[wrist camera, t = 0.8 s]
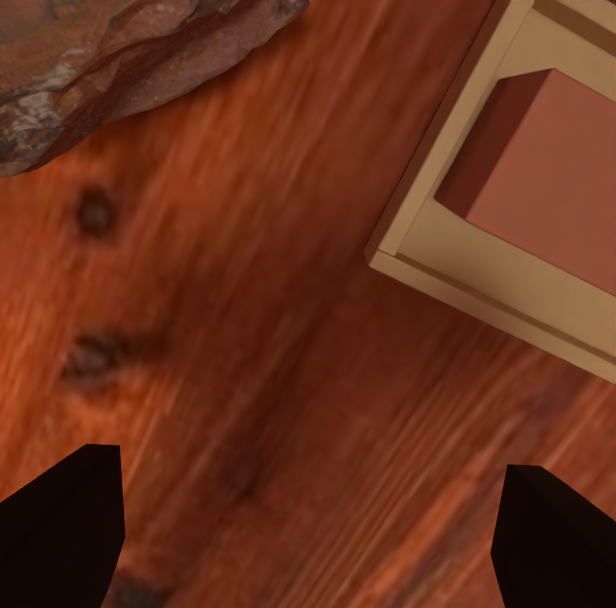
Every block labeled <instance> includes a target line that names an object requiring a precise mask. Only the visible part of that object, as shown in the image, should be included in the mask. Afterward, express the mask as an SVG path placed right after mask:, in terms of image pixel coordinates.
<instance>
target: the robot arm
mask: <svg viewBox="0 0 616 608" xmlns="http://www.w3.org/2000/svg"><path fill="white" fill-rule="evenodd" d="M124 539H125V521H124V505H123V489H122V473H121V457H120V445H99V444H86V445H84V446H83V447H81V448H79V449H78V450H76V451H75V452H73V453H72V454H70V455H69V456H67V457H66V458H64V459H63V460H62V461H60V462H59V463H57V464H56V465H54V466H53V467H52V468H50V469H49V470H47V471H46V472H44V473H43V474H42V475H40V476H39V477H37V478H36V479H34V480H33V481H31V482H30V483H29V484H27V485H26V486H24V487H23V488H21V489H20V490H18V491H17V492H15V493H14V494H12V495H11V496H9V497H8V498H7V499H5V500H4V501H2V502H1V503H0V608H100V607H101V604H102V602H103V600H104V598H105V596H106V593H107V591H108V589H109V586H110V583H111V580H112V577H113V574H114V571H115V568H116V565H117V562H118V559H119V555H120V552H121V549H122V546H123V543H124ZM490 554H491V558H492V562H493V566H494V569H495V573H496V577H497V581H498V585H499V588H500V591H501V595H502V598H503V602H504V605H505V608H616V522H615V521H614V520H613V519H612V518H610V517H609V516H608V515H606V514H605V513H604V512H602V511H601V510H600V509H598V508H597V507H596V506H594V505H593V504H592V503H590V502H589V501H588V500H587V499H585V498H584V497H583V496H581V495H580V494H579V493H577V492H576V491H575V490H573V489H572V488H571V487H569V486H568V485H567V484H565V483H564V482H563V481H561V480H560V479H559V478H557V477H556V476H554V475H553V474H552V473H550V472H549V471H547V470H546V469H544V468H543V467H541V466H530V465H510V464H508V465H507V470H506V475H505V480H504V486H503V491H502V496H501V501H500V506H499V511H498V517H497V522H496V527H495V532H494V537H493V542H492V548H491V553H490Z"/></svg>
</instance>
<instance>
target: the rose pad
mask: <svg viewBox="0 0 616 608" xmlns="http://www.w3.org/2000/svg"><path fill="white" fill-rule="evenodd" d="M433 199H434V200H435V201H437V202H438V203H440V204H441V205H443V206H444V207H446V208H447V209H449V210H450V211H451V212H453V213H454V214H456V215H457V216H459V217H460V218H462V219H463V220H465V221H466V222H468V223H470V224H472V225H474V226H476V227H478V228H480V229H482V230H484V231H486V232H488V233H490V234H492V235H494V236H496V237H498V238H500V239H502V240H504V241H506V242H508V243H510V244H512V245H514V246H516V247H518V248H520V249H522V250H524V251H526V252H528V253H530V254H532V255H534V256H536V257H538V258H539V259H541V260H543V261H545V262H547V263H549V264H551V265H553V266H555V267H557V268H559V269H561V270H563V271H565V272H567V273H569V274H571V275H573V276H575V277H577V278H579V279H581V280H583V281H585V282H587V283H589V284H591V285H593V286H595V287H597V288H599V289H601V290H603V291H605V292H607V293H609V294H611V295H613V296H615V297H616V102H615V101H613V100H611V99H609V98H608V97H606V96H604V95H602V94H600V93H599V92H597V91H595V90H593V89H591V88H590V87H588V86H586V85H584V84H583V83H581V82H579V81H577V80H575V79H574V78H572V77H570V76H568V75H567V74H565V73H563V72H561V71H559V70H558V69H556V68H549V69H545V70H540V71H535V72H530V73H525V74H520V75H515V76H510V77H505V78H501V79H499V80H498V81H497V83H496V85H495V86H494V88H493V90H492V92H491V94H490V96H489V97H488V99H487V101H486V103H485V105H484V106H483V108H482V110H481V112H480V114H479V115H478V117H477V119H476V121H475V123H474V124H473V126H472V128H471V130H470V132H469V134H468V135H467V137H466V139H465V141H464V143H463V144H462V146H461V148H460V150H459V152H458V153H457V155H456V157H455V159H454V161H453V162H452V164H451V166H450V168H449V170H448V172H447V173H446V175H445V177H444V179H443V181H442V182H441V184H440V186H439V188H438V190H437V191H436V193H435V195H434V198H433Z"/></svg>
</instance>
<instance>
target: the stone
mask: <svg viewBox="0 0 616 608" xmlns="http://www.w3.org/2000/svg"><path fill="white" fill-rule="evenodd" d="M308 5H309V0H0V177H6V176H15V175H18V174H21V173H24V172H30V171H32V170H35V169H39V168H40V167H42V166H44V165H46V164H47V163H49V162H50V161H51V160H53V159H54V158H56V157H57V156H59V155H61V154H62V153H64V152H66V151H67V150H69V149H71V148H72V147H74V146H75V145H76V144H78V143H79V142H80V141H82V140H83V139H84V138H86V137H87V136H88V135H89V134H91V133H93V132H95V131H97V130H99V129H100V128H101V127H102V126H103V125H106V124H109V123H112V122H115V121H117V120H119V119H122V118H124V117H127V116H132V115H134V114H137V113H140V112H144V111H147V110H151V109H153V108H156V107H158V106H161V105H163V104H165V103H167V102H169V101H171V100H173V99H175V98H177V97H180V96H182V95H184V94H186V93H188V92H190V91H191V90H193V89H195V88H197V87H198V86H200V85H201V84H202V83H204V82H205V81H207V80H209V79H211V78H213V77H215V76H217V75H219V74H221V73H224V72H225V71H227V70H228V69H230V68H231V67H233V66H234V65H236V64H237V63H238V62H240V61H241V60H243V59H244V58H246V57H247V55H248V53H249V52H250V50H251V49H252V48H256V47H259V46H263V45H264V44H265V43H266V42H267V41H268V40H269V39H270V38H271V36H272V35H273V34H274V33H275V32H276V31H277V30H278V29H280V28H283V27H285V26H286V25H287V24H289V23H290V22H292V21H293V20H294V19H296V18H297V17H298V16H299V15H300V14H301V13H302V12H303V11H304V10H305V9H306V8H307V6H308Z"/></svg>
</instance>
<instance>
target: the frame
mask: <svg viewBox="0 0 616 608" xmlns="http://www.w3.org/2000/svg"><path fill="white" fill-rule="evenodd" d="M549 68H556V69H558V70H559V71H561V72H563V73H565V74H567V75H568V76H570V77H572V78H574V79H575V80H577V81H579V82H581V83H583V84H584V85H586V86H588V87H590V88H591V89H593V90H595V91H597V92H599V93H600V94H602V95H604V96H606V97H608V98H609V99H611V100H613V101H615V102H616V5H615V4H613V3H612V2H610V1H608V0H495V2H494V4H493V6H492V8H491V10H490V12H489V14H488V16H487V18H486V19H485V21H484V23H483V25H482V27H481V29H480V31H479V33H478V35H477V36H476V38H475V40H474V42H473V44H472V46H471V48H470V50H469V52H468V53H467V55H466V57H465V59H464V61H463V63H462V65H461V67H460V69H459V70H458V72H457V74H456V76H455V78H454V80H453V82H452V84H451V86H450V87H449V89H448V91H447V93H446V95H445V97H444V99H443V101H442V103H441V104H440V106H439V108H438V110H437V112H436V114H435V116H434V118H433V120H432V121H431V123H430V125H429V127H428V129H427V131H426V133H425V135H424V137H423V139H422V140H421V142H420V144H419V146H418V148H417V150H416V152H415V154H414V156H413V157H412V159H411V161H410V163H409V165H408V167H407V169H406V171H405V173H404V174H403V176H402V178H401V180H400V182H399V184H398V186H397V188H396V190H395V191H394V193H393V195H392V197H391V199H390V201H389V203H388V205H387V207H386V208H385V210H384V212H383V214H382V216H381V218H380V220H379V222H378V224H377V225H376V227H375V229H374V231H373V233H372V235H371V237H370V239H369V241H368V243H367V244H366V246H365V248H364V250H363V253H364V255H365V257H366V260H367V263H368V265H369V267H371V268H373V269H375V270H377V271H379V272H381V273H383V274H385V275H388V276H390V277H392V278H394V279H396V280H398V281H400V282H402V283H404V284H406V285H408V286H410V287H413V288H415V289H417V290H419V291H421V292H423V293H425V294H427V295H429V296H431V297H433V298H435V299H438V300H440V301H442V302H444V303H446V304H448V305H450V306H452V307H454V308H456V309H458V310H461V311H463V312H465V313H467V314H469V315H471V316H473V317H475V318H477V319H479V320H481V321H483V322H486V323H488V324H490V325H492V326H494V327H496V328H498V329H500V330H502V331H504V332H506V333H508V334H511V335H513V336H515V337H517V338H519V339H521V340H523V341H525V342H527V343H529V344H531V345H533V346H536V347H538V348H540V349H542V350H544V351H546V352H548V353H550V354H552V355H554V356H556V357H558V358H561V359H563V360H565V361H567V362H569V363H571V364H573V365H575V366H577V367H579V368H581V369H583V370H586V371H588V372H590V373H592V374H594V375H596V376H598V377H600V378H602V379H604V380H606V381H608V382H611V383H613V384H615V385H616V297H615V296H613V295H611V294H609V293H607V292H605V291H603V290H601V289H599V288H597V287H595V286H593V285H591V284H589V283H587V282H585V281H583V280H581V279H579V278H577V277H575V276H573V275H571V274H569V273H567V272H565V271H563V270H561V269H559V268H557V267H555V266H553V265H551V264H549V263H547V262H545V261H543V260H541V259H539V258H538V257H536V256H534V255H532V254H530V253H528V252H526V251H524V250H522V249H520V248H518V247H516V246H514V245H512V244H510V243H508V242H506V241H504V240H502V239H500V238H498V237H496V236H494V235H492V234H490V233H488V232H486V231H484V230H482V229H480V228H478V227H476V226H474V225H472V224H470V223H468V222H466V221H465V220H463V219H462V218H460V217H459V216H457V215H456V214H454V213H453V212H451V211H450V210H449V209H447V208H446V207H444V206H443V205H441V204H440V203H438V202H437V201H435V200H434V199H433V198H434V195H435V193H436V191H437V190H438V188H439V186H440V184H441V182H442V181H443V179H444V177H445V175H446V173H447V172H448V170H449V168H450V166H451V164H452V162H453V161H454V159H455V157H456V155H457V153H458V152H459V150H460V148H461V146H462V144H463V143H464V141H465V139H466V137H467V135H468V134H469V132H470V130H471V128H472V126H473V124H474V123H475V121H476V119H477V117H478V115H479V114H480V112H481V110H482V108H483V106H484V105H485V103H486V101H487V99H488V97H489V96H490V94H491V92H492V90H493V88H494V86H495V85H496V83H497V81H498V80H499V79H501V78H505V77H510V76H515V75H520V74H525V73H530V72H535V71H540V70H545V69H549Z"/></svg>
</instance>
